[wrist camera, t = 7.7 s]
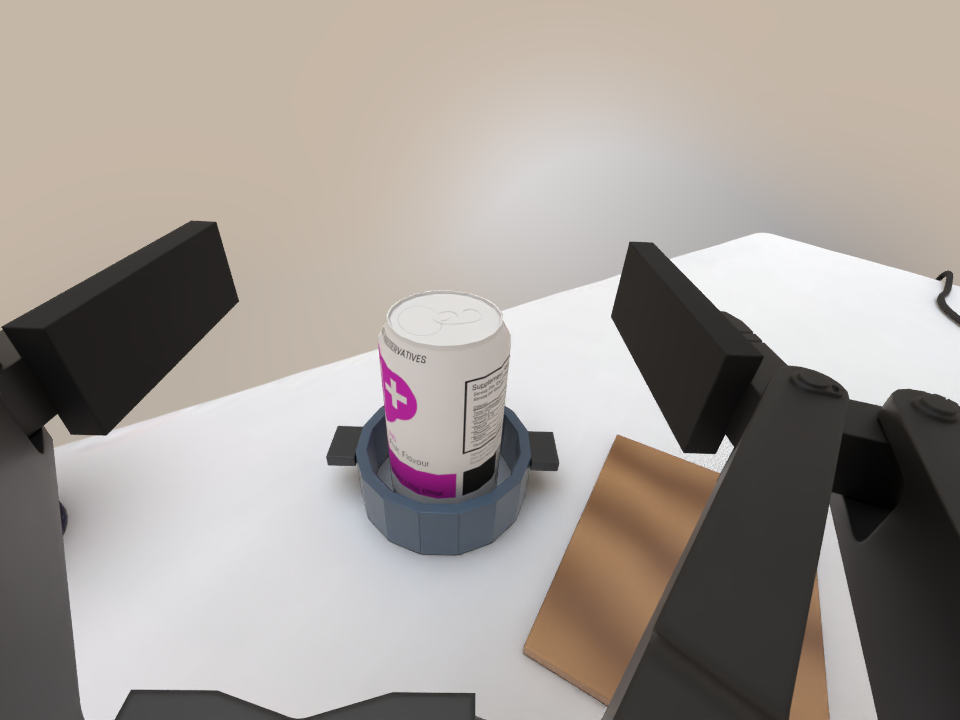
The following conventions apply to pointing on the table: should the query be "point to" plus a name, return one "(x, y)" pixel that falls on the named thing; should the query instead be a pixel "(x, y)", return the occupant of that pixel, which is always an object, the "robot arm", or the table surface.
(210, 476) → the table surface
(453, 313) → the supplement can
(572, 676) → the wooden board
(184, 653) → the table surface
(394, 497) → the pot
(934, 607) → the robot arm
